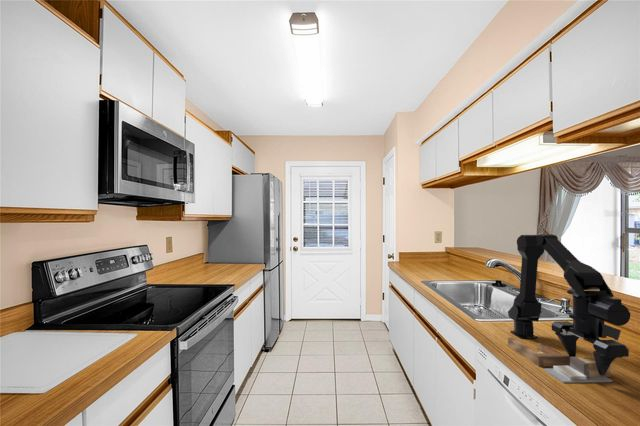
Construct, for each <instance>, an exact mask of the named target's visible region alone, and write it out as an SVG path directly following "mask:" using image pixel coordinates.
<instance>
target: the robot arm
mask: <svg viewBox="0 0 640 426" xmlns="http://www.w3.org/2000/svg"><path fill="white" fill-rule="evenodd" d="M516 245H517V251H518V253H519V255H520V256H521V268H520V280H519V281H520V283H519V293H517V296H516V297H515V298H514V300H513V303H512V304H513V305H512V306H511V308H509V309H508V311H507V315H508V318H509V319H511V320H513V330H510V333H511V334H513V335H514V336H516V337H519V338H520V339H538V336H537V335H535V334H534V333H535V332H534V331H535V330H534V329H535V328H534V322H539V319H540V316H541V314H542V302H539V299H538V298H537V297H536V292H537V280H538V279H537V278H538V266H539V259H540V258H541V256H543V254H545V252H546V253H548V255H549V256H550V257H551V258H552V259H553V260H554V262H556V264H557V265H558V266H559V267H560V268H561V270H562V272H563V278H564V280H565V281H566V283H567V285H569V287H570V289H568V290H567V291H566V294H569V295H571V296H572V313H569V314H568V317H569V319H572V322H570V321H566V320H565V321H563V320H562V321H553V322H552V324H551V331H552V332H554V335H556V336H557V337H558V339H559V341H560V342H561V344H562V346H563V347H564V349H565V351H566V354H568V355H569V356H570V357H576V356H577V355H576V354H577V341H578V340H579V339H581V340H584V341H585V342H589V343H591V344H592V347H593V349H594V350H593V351H592V353H593V354H592V355H593V358H595V361H596V365H597V369H598V372H599V374H600V375H601V376H604V375H605V374H606V372H607V370H608V368H609V366H610V364H612V363H613V362H614V360H615V359H618V358H620V359H621V358H623V357H624V358H625V357H626V358H627V357H630V356H629V354H630V351H629V347H627V346H626V344H623V343H620V342H619V339H620V335H621V333H622V330H621V329H619V328H616V327H614V326H618V327H620V326H621V327H622V326H625V325H626V324H627V323H629V321H630V319H631V312H630V310H629V309H628V307H627V306H626V305H624V304H622V301H623V300H622V299H621V298H617V297H615V296H614V293H613V291H612V289H611V288H610V287H609V286H608V284H607V282H606V281H605V278H604V276H603V275H602V274H601V272H599V271H598V270H597V269H595V268H594V267H592V266H591V265H588V264H586V263H583V262H582V261H581V260H579V259H578V258H577V257H576V256H575V255H574V254H573V253H572V252H571V251H570V250H569V249H568V248H567V247H566V246H565V245H564V244H563V242H561V241H560V240H559V238H558V235H556V234H553V233H550V234H549V233H548V234H547V233H546V234H545V233H543V234H542V233H541V234H521V235H520V236H519V237H517V239H516ZM605 322H606V323H608V325H607V324H605ZM609 324H611V325H613V326H610V325H609ZM607 337H609V338H612V339H607ZM600 338H601V339H600ZM613 339H614V340H613Z"/></svg>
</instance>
